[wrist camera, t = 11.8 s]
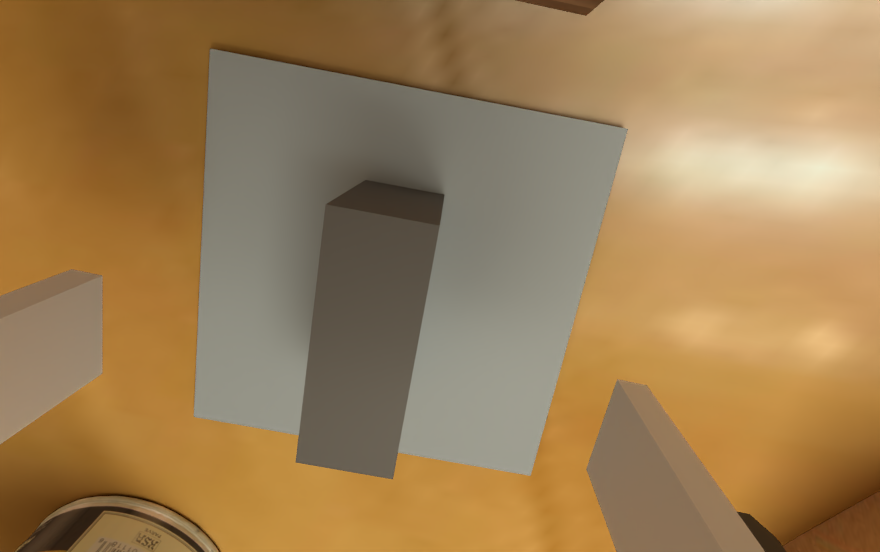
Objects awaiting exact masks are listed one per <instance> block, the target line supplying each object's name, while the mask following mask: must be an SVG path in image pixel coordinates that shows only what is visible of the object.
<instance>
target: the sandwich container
mask: <svg viewBox="0 0 880 552" xmlns="http://www.w3.org/2000/svg"><path fill="white" fill-rule="evenodd" d="M783 548H784V549H785V550H786V552H880V491H878V492H877V493H875V494H873V495H871V496H869V497H868V498H866V499H864V500H862V501H861V502H859V503H857V504H855V505H853V506H852V507H850V508H848V509H846V510H844V511H843V512H841V513H839V514H837V515H836V516H834V517H832V518H830V519H828V520H827V521H825V522H823V523H821V524H819V525H818V526H816V527H814V528H812V529H811V530H809V531H807V532H805V533H803V534H802V535H800V536H798V537H797V538H795V539H793V540H792V541H790V542H789V543H787V544H785V545H784V546H783Z"/></svg>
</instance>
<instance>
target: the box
mask: <svg viewBox="0 0 880 552" xmlns="http://www.w3.org/2000/svg"><path fill="white" fill-rule="evenodd" d="M517 1H522V2H526V3H531V4H535V5H540V6H545V7H549V8H554V9H558V10H563V11H567V12H572V13H577V14H581V15H587V14H589V13H590V12H591V11H592V10H593V9H594V8H596V7H597V6H598V5H599V4H600V3H601V2H603V1H604V0H517Z"/></svg>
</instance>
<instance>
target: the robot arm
mask: <svg viewBox="0 0 880 552" xmlns="http://www.w3.org/2000/svg"><path fill="white" fill-rule="evenodd" d="M101 374H102V275H97V274H92V273H87V272H82V271H77V270H72V269H71V270H69V271H66V272H63V273H61V274H58V275H55V276H53V277H50V278H47V279H45V280H42V281H39V282H37V283H34V284H31V285H28V286H26V287H23V288H20V289H18V290H15V291H12V292H10V293H7V294H4V295H2V296H0V444H2V443H3V442H4V441H6V440H7V439H9V438H10V437H12V436H13V435H15V434H16V433H17V432H19V431H20V430H22V429H23V428H25V427H26V426H27V425H29V424H30V423H32V422H33V421H35V420H36V419H37V418H39V417H40V416H42V415H43V414H45V413H46V412H48V411H49V410H50V409H52V408H53V407H55V406H56V405H58V404H59V403H60V402H62V401H63V400H65V399H66V398H68V397H69V396H71V395H72V394H73V393H75V392H76V391H78V390H79V389H81V388H82V387H83V386H85V385H86V384H88V383H89V382H91V381H92V380H93V379H95V378H96V377H98V376H99V375H101ZM587 472H588V475H589V477H590V480H591V483H592V486H593V488H594V491H595V494H596V496H597V499H598V502H599V505H600V507H601V510H602V513H603V516H604V518H605V521H606V524H607V527H608V529H609V532H610V535H611V538H612V540H613V543H614V546H615V549H616V551H617V552H786V550H785V549H784V548H783V546H782V545H781V544H780V542H779V541H778V540H777V538H776V537H775V536H774V535H773V534H771V533H770V532H769V531H768V530H767V529H766V528H765V527H763V526H762V525H761V524H760V523H759V522H758V521H757V520H755V519H754V518H753V517H752V516H751V515H750V514H746V513H741V512H736V510H735V509H734V507H733V506H732V504H731V503H730V502H729V500H728V499H727V497H726V496H725V495H724V493H723V492H722V490H721V489H720V488H719V486H718V485H717V483H716V482H715V481H714V479H713V478H712V476H711V475H710V474H709V472H708V471H707V469H706V468H705V467H704V465H703V464H702V462H701V461H700V460H699V458H698V457H697V455H696V454H695V453H694V451H693V450H692V448H691V447H690V445H689V444H688V443H687V441H686V440H685V438H684V437H683V436H682V434H681V433H680V431H679V430H678V429H677V427H676V426H675V424H674V423H673V422H672V420H671V419H670V417H669V416H668V415H667V413H666V412H665V410H664V409H663V408H662V406H661V405H660V403H659V402H658V401H657V399H656V398H655V396H654V395H653V394H652V392H651V391H650V389H649V388H648V387H647V385H642V384H638V383H633V382H628V381H623V380H618V379H617V382H616V385H615V388H614V390H613V393H612V396H611V399H610V402H609V405H608V408H607V411H606V414H605V417H604V420H603V422H602V425H601V428H600V431H599V434H598V437H597V440H596V443H595V446H594V449H593V452H592V454H591V457H590V460H589V463H588V466H587Z"/></svg>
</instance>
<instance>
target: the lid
mask: <svg viewBox="0 0 880 552" xmlns="http://www.w3.org/2000/svg"><path fill="white" fill-rule="evenodd" d="M627 130H628V129H626V128H621V127H616V126H610V125H605V124H600V123H595V122H590V121H584V120H579V119H574V118H569V117H564V116H558V115H553V114H548V113H543V112H538V111H532V110H527V109H522V108H517V107H512V106H506V105H501V104H496V103H491V102H486V101H480V100H475V99H470V98H465V97H460V96H454V95H449V94H444V93H439V92H434V91H428V90H423V89H418V88H413V87H408V86H402V85H397V84H392V83H387V82H382V81H376V80H371V79H366V78H361V77H356V76H350V75H345V74H340V73H335V72H330V71H324V70H319V69H314V68H309V67H304V66H298V65H293V64H288V63H283V62H278V61H273V60H267V59H262V58H257V57H252V56H247V55H241V54H236V53H231V52H226V51H221V50H215V49H210V59H209V82H208V105H207V128H206V151H205V173H204V196H203V219H202V242H201V265H200V288H199V311H198V334H197V357H196V380H195V403H194V417H198V418H203V419H209V420H215V421H221V422H226V423H232V424H238V425H243V426H249V427H255V428H261V429H266V430H272V431H278V432H283V433H289V434H295V435H299V438H298V447H297V456H296V462H297V463H302V464H308V465H314V466H320V467H325V468H331V469H337V470H343V471H348V472H354V473H360V474H366V475H371V476H377V477H383V478H389V479H393V476H394V470H395V465H396V460H397V454H398V453H404V454H409V455H415V456H421V457H426V458H432V459H438V460H444V461H449V462H455V463H461V464H466V465H472V466H478V467H484V468H489V469H495V470H501V471H506V472H512V473H518V474H524V475H529V476H530V475H531V472H532V468H533V465H534V461H535V458H536V454H537V451H538V447H539V443H540V440H541V436H542V433H543V429H544V426H545V422H546V419H547V415H548V411H549V408H550V404H551V401H552V397H553V394H554V390H555V387H556V383H557V379H558V376H559V372H560V369H561V365H562V362H563V358H564V355H565V351H566V347H567V344H568V340H569V337H570V333H571V330H572V326H573V323H574V319H575V315H576V312H577V308H578V305H579V301H580V298H581V294H582V291H583V287H584V283H585V280H586V276H587V273H588V269H589V266H590V262H591V258H592V255H593V251H594V248H595V244H596V241H597V237H598V234H599V230H600V226H601V223H602V219H603V216H604V212H605V209H606V205H607V202H608V198H609V194H610V191H611V187H612V184H613V180H614V177H615V173H616V170H617V166H618V162H619V159H620V155H621V152H622V148H623V145H624V141H625V138H626V134H627Z"/></svg>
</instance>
